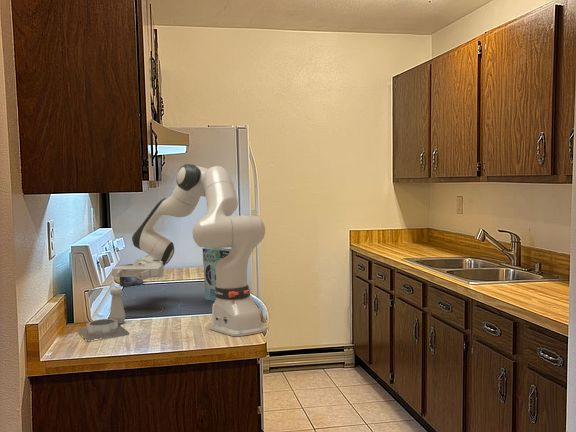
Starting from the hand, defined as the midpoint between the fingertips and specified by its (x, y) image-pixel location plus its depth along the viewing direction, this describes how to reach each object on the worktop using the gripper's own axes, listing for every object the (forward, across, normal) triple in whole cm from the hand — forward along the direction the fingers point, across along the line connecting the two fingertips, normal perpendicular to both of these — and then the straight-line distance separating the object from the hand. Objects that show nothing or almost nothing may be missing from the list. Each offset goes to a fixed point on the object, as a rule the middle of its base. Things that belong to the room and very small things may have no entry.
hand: (129, 274), depth 218 cm
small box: (-62, -28, +17) cm, 70 cm away
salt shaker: (+13, 0, +16) cm, 20 cm away
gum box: (-23, +31, +16) cm, 42 cm away
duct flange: (+26, +1, +16) cm, 30 cm away
